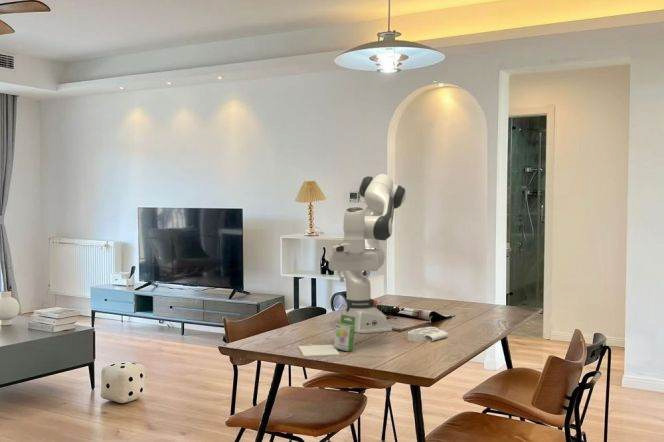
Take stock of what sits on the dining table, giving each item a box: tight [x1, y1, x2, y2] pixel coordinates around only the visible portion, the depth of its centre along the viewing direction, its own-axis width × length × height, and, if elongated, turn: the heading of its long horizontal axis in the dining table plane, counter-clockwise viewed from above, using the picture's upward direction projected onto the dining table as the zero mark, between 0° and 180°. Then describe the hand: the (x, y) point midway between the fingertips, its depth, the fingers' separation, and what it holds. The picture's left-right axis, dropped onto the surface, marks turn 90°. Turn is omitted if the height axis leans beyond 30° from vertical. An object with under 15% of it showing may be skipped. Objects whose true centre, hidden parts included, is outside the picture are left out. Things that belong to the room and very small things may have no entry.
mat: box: [297, 344, 341, 358], centre depth 258 cm, size 14×16×1 cm
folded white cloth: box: [407, 326, 449, 343], centre depth 283 cm, size 3×18×15 cm
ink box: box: [333, 313, 356, 352], centre depth 260 cm, size 7×4×13 cm, turn 56°
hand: (353, 281), depth 264 cm, fingers open, 8 cm apart
